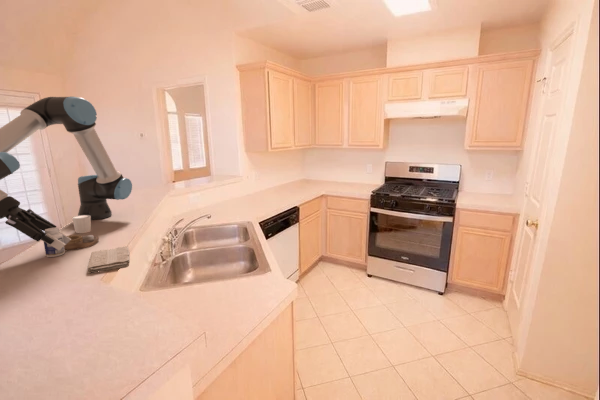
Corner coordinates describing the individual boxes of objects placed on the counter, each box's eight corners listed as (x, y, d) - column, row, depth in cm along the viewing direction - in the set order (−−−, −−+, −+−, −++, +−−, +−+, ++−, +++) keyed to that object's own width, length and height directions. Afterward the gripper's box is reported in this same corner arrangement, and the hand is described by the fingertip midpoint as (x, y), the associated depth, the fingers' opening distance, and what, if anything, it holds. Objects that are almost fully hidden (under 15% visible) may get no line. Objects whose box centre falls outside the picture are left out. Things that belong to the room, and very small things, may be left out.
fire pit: (94, 236, 125) (93, 229, 125) (102, 244, 116) (101, 236, 115) (52, 243, 115) (51, 236, 115) (57, 253, 106) (56, 244, 105)
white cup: (82, 234, 128) (80, 218, 127) (69, 232, 129) (67, 217, 128) (96, 229, 134) (94, 215, 133) (83, 228, 136) (82, 214, 134)
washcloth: (87, 276, 89) (86, 267, 89) (90, 257, 104) (89, 249, 103) (131, 268, 96) (130, 259, 95) (128, 251, 111) (127, 243, 110)
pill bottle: (48, 253, 105) (44, 227, 104) (66, 251, 108) (63, 226, 106) (43, 258, 101) (39, 231, 99) (62, 255, 103) (59, 229, 101)
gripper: (4, 206, 103) (66, 244, 113) (-29, 218, 87) (47, 261, 96) (21, 191, 104) (81, 230, 114) (-9, 200, 88) (64, 245, 97)
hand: (65, 244), depth 105 cm, fingers closed on pill bottle, 5 cm apart
